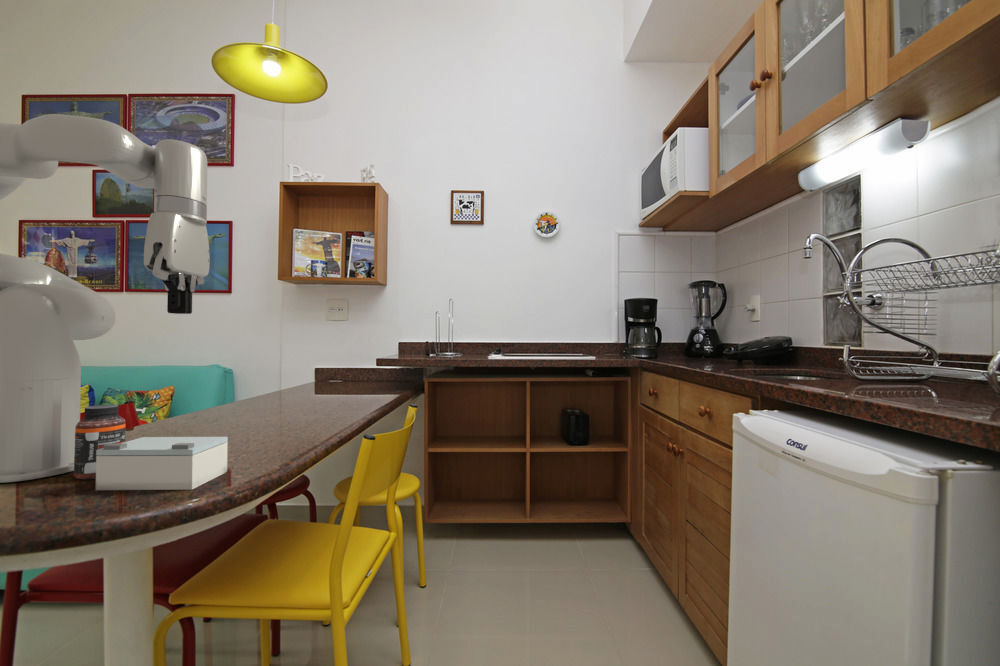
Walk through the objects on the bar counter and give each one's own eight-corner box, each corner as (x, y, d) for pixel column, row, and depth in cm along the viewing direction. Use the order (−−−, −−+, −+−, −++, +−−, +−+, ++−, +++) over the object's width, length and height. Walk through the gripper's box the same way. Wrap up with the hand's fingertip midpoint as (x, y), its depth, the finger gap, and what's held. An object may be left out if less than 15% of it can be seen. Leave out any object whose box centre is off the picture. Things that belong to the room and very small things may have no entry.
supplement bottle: (99, 481, 63) (100, 409, 63) (62, 481, 63) (63, 409, 64) (134, 469, 69) (135, 403, 69) (100, 468, 69) (101, 403, 70)
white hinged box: (95, 490, 59) (96, 456, 60) (142, 472, 67) (142, 442, 68) (192, 489, 60) (192, 455, 60) (227, 471, 68) (227, 442, 68)
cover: (96, 455, 60) (96, 445, 60) (142, 441, 68) (143, 433, 68) (192, 454, 60) (192, 445, 60) (227, 441, 68) (227, 433, 68)
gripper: (190, 224, 81) (189, 315, 80) (122, 198, 66) (120, 310, 65) (228, 224, 81) (227, 315, 80) (169, 198, 66) (167, 310, 66)
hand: (179, 313), depth 73 cm, fingers closed
